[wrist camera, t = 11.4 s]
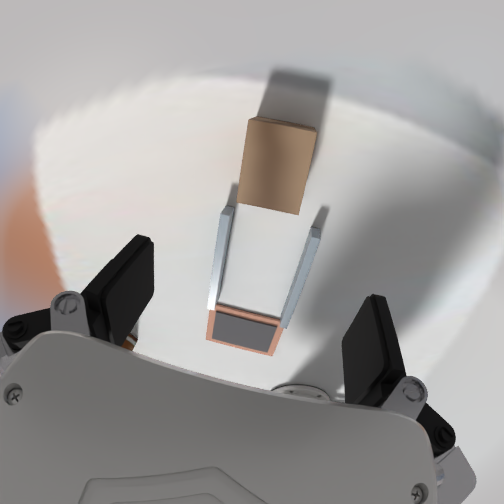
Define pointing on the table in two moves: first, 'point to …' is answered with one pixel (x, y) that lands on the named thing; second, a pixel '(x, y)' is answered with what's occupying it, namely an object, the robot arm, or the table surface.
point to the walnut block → (275, 164)
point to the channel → (298, 279)
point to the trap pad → (243, 330)
